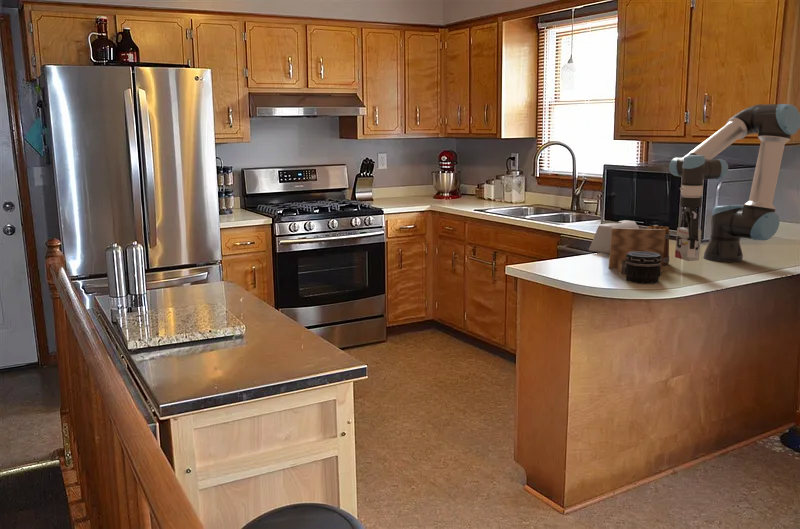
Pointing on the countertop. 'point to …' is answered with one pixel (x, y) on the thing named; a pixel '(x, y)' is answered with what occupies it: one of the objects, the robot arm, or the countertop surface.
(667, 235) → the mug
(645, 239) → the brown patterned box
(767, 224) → the robot arm
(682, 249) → the ink box
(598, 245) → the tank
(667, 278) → the countertop surface
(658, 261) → the container
